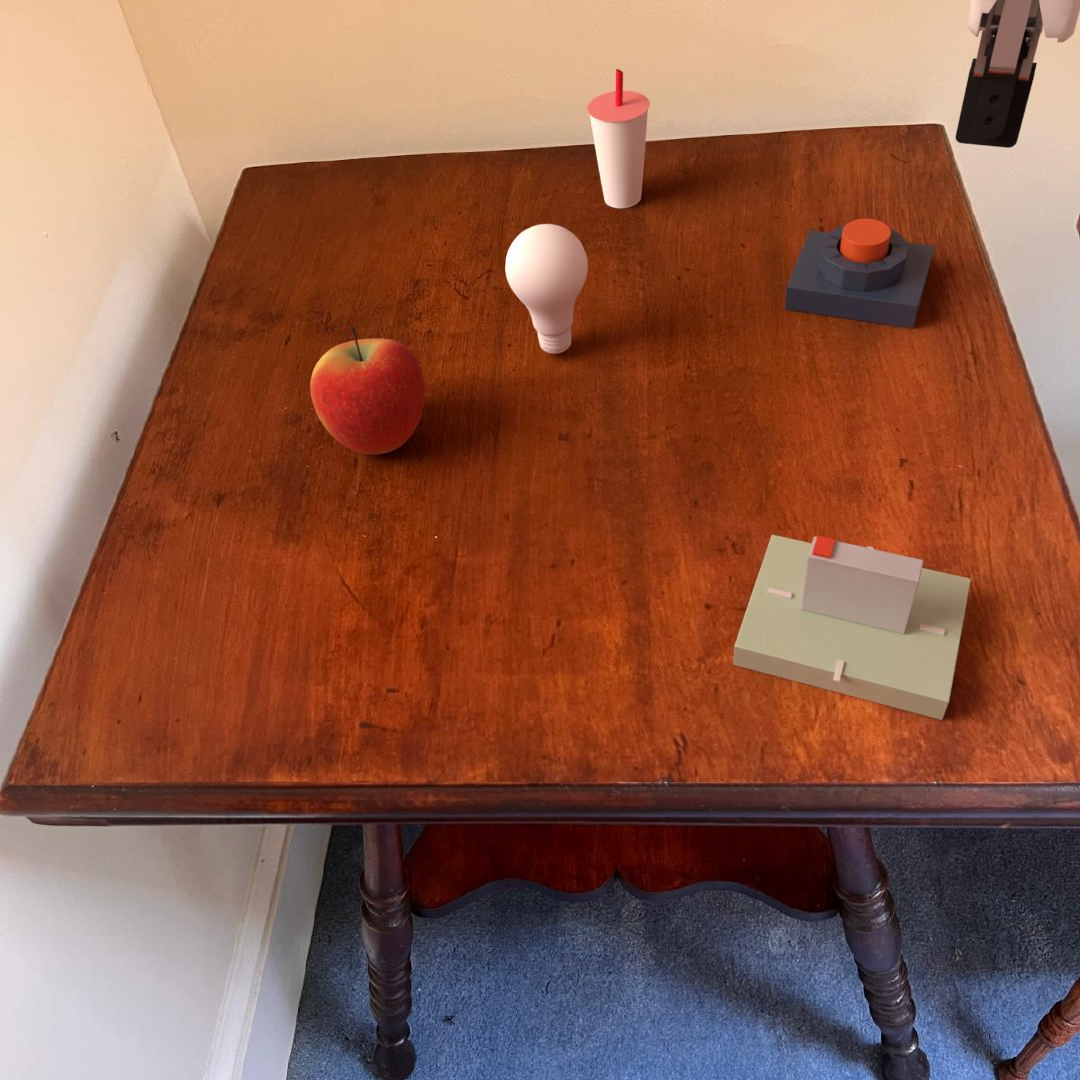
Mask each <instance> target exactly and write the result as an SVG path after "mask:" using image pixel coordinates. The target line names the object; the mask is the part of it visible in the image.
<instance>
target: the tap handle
mask: <svg viewBox="0 0 1080 1080" xmlns="http://www.w3.org/2000/svg"><path fill="white" fill-rule="evenodd" d="M811 543H812V545H811V548H810V551H809V555H808V560H807V567H806V573H805V580H804V587H803V594H802V601H801V609H803V610H807V611H811V612H815V613H819V614H823V615H828V616H832V617H836V618H840V619H844V620H848V621H852V622H856V623H860V624H864V625H869V626H873V627H877V628H881V629H885V630H889V631H893V632H897V633H901V634H904V633H905V630H906V627H907V623H908V620H909V616H910V613H911V609H912V606H913V602H914V598H915V595H916V591H917V588H918V584H919V581H920V576H921V571H922V568H924V567H923V566H924V559H921V558H915V557H911V556H907V555H902V554H897V553H893V552H889V551H885V550H880V549H875V548H873V549H871V548H867V546H866V547H865V546H862V545H858V544H853V543H848V542H843V541H839V540H836V538H835V539H834V538H831V537H826V536H821V535H817V536H816V535H815V536H813V537H812V542H811Z"/></svg>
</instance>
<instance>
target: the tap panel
mask: <svg viewBox="0 0 1080 1080" xmlns="http://www.w3.org/2000/svg"><path fill="white" fill-rule="evenodd" d="M768 541H769V542H768V545H767V548H766V550H765V554H764V557H763V559H762V562H761V565H760V569H759V571H758V574H757V578H756V579H755V583H754V586H753V589H752V592H751V595H750V598H749V601H748V603H747V607H746V610H745V612H744V615H743V616H744V617H743V619H742V622H741V624H740V628H739V631H738V633H737V637H736V639H735V643H734V645H733V659H732V660H733V661H732V663H733V666H737V667H741V668H743V669H748V670H751V671H755V672H758V673H763V674H766V675H769V676H770V675H771V676H774V677H778V678H782V679H785V680H788V681H792V682H796V683H801V684H805V685H808V686H811V687H816V688H819V689H823V690H827V691H831V692H834V693H837V694H841V695H844V696H845V695H846V696H850V697H854V698H855V699H856V698H857V699H861V700H865V701H869V702H872V703H876V704H879V705H882V706H887V707H890V708H894V709H898V710H902V711H906V712H910V713H913V714H916V715H921V716H925V717H928V718H932V719H936V720H939V721H943V719H944V717H945V715H946V711H947V710H948V709H947V708H948V706H949V704H950V700H951V695H952V694H951V693H952V688H953V682H954V676H955V671H956V666H957V660H958V655H959V648H960V645H961V637H962V634H963V633H962V632H963V627H964V621H965V615H966V609H967V604H968V598H969V594H970V593H969V592H970V588H971V581H972V579H971V577H970V578H969V577H966V576H960V575H957V574H952V573H948V572H943V571H939V570H934V569H930V568H925V567H922V571H921V576H920V581H919V584H918V588H917V591H916V595H915V598H914V602H913V606H912V609H911V613H910V616H909V620H908V623H907V627H906V630H905V633H904V634H901V633H897V632H893V631H889V630H885V629H881V628H877V627H873V626H869V625H864V624H860V623H856V622H852V621H848V620H844V619H840V618H836V617H832V616H828V615H823V614H819V613H815V612H811V611H807V610H803V609H801V601H802V594H803V587H804V580H805V573H806V567H807V560H808V555H809V551H810V548H811V545H812V542H807V541H803V540H798V539H794V538H791V537H790V538H789V537H786V536H781V535H776V534H771V535H770V538H769V540H768ZM866 548H871V549H875V548H874V547H873V546H868V545H867V546H866Z"/></svg>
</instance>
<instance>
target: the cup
mask: <svg viewBox="0 0 1080 1080" xmlns="http://www.w3.org/2000/svg"><path fill="white" fill-rule="evenodd" d="M650 104H651V103H650V100H649V98H648V97H647V96H646V95H644V94H642V93H640V92H636V91H631V90H624V71H622V70H621V69H619V68H615V91H609V92H604V93H602V94H600V95H598V96H595V97H594V98H593V99H591V101H589V103H588V104H587V107H586V109H587V113H588V115H589V120H590V125H591V130H592V137H593V142H594V143H593V144H594V149H595V156H596V161H597V167H598V172H599V178H600V184H601V189H602V194H603V199H604V202H605V204H606V205H607V206H608V207H611V208H614V209H627V208H631V207H634V206H636V205H637V204H639V203H640V202H641V200H642V193H643V183H644V182H643V181H644V167H645V155H646V141H647V130H648V129H647V127H648V116H649V115H648V114H649V113H648V111H649V108H650Z"/></svg>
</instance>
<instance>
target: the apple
mask: <svg viewBox="0 0 1080 1080" xmlns="http://www.w3.org/2000/svg"><path fill="white" fill-rule="evenodd" d="M348 328H349V330H350V332H351V334H352V336H353V340H350V341H346V342H343V343H339V344H337V345H335V346H333V347H332V348H330V349H329V350H327V351H326V352H325V353H324V354H323V355H322V356H321V357H320V359H319V360H318V361H317V363H316V364H315V366H314V368H313V370H312V374H311V377H310V382H309V388H310V397H311V398H310V399H311V402H312V405H313V408H314V410H315V413H316V416H317V417H318V419H319V421H320V422H321V424H322V425H323V427H324V428H325V430H326V431H327V432H328V433H329V435H330V436H331V437H332V438H334V439H335V440H336V441H337V442H338V443H339V444H341V446H344V447H345V448H347V449H349V450H351V451H353V452H355V453H358V454H362V455H370V456H376V455H383V454H387V453H391V452H392V451H395V450H397V449H399V448H401V447H402V446H403V445H405V443H406V442H407V441H408V440H409V439H410V438H411V437H412V436H413V434H414V433H415V430H416V429H417V427H418V425H419V422H420V419H421V417H422V416H423V410H424V405H425V401H426V400H425V399H426V383H425V378H424V373H423V369H422V367H421V364H420V363H419V360H418V359H417V357H416V356H415V354H414V353H413V352H412V351H411V350H410V348H408V346H406V345H405V344H403V343H401V342H400V341H397V340H394V339H390V338H383V337H382V338H380V337H379V338H378V337H377V338H375V337H374V338H362V339H358V336H357V331H356V327H355V326H354V325H348Z"/></svg>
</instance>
